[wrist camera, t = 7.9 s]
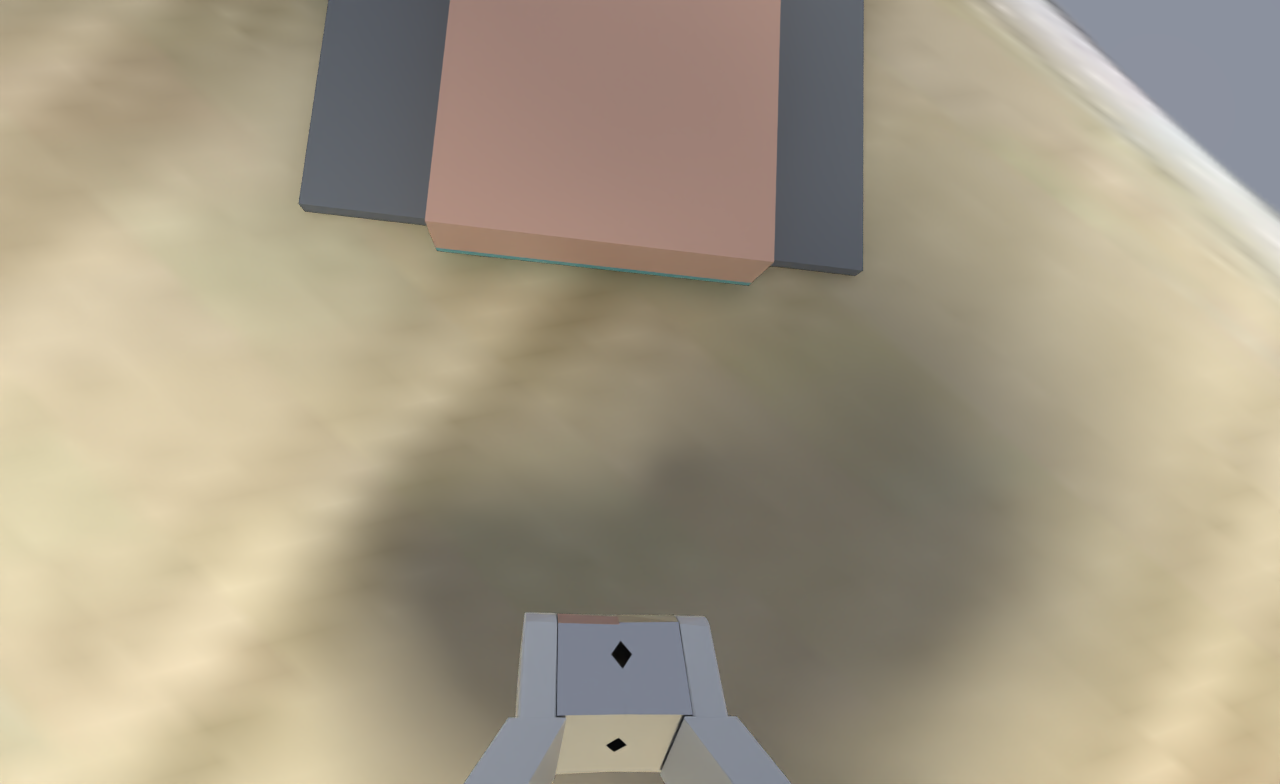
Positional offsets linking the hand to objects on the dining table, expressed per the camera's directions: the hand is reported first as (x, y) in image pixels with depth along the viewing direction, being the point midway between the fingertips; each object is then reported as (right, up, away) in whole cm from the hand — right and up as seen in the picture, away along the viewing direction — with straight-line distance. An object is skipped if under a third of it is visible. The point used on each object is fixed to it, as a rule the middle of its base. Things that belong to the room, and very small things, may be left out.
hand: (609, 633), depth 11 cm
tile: (-1, +8, +11) cm, 14 cm away
